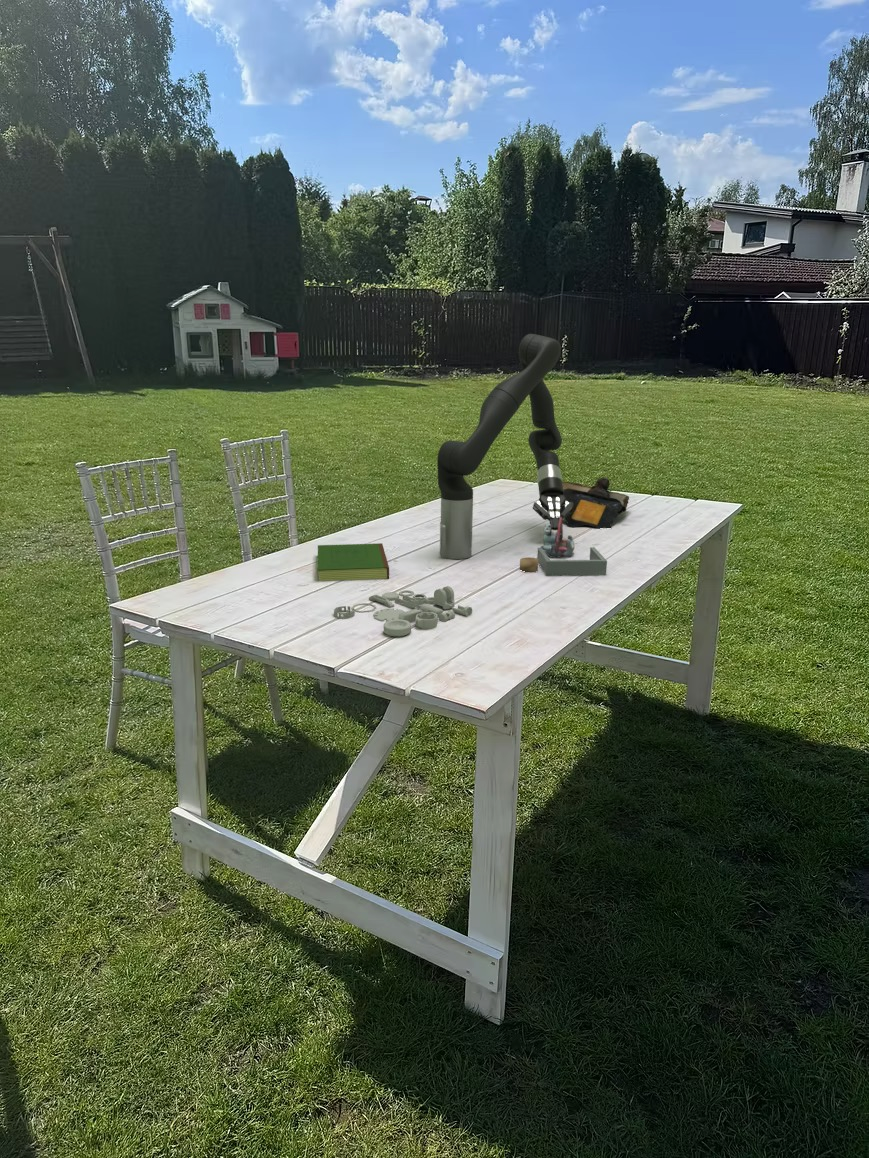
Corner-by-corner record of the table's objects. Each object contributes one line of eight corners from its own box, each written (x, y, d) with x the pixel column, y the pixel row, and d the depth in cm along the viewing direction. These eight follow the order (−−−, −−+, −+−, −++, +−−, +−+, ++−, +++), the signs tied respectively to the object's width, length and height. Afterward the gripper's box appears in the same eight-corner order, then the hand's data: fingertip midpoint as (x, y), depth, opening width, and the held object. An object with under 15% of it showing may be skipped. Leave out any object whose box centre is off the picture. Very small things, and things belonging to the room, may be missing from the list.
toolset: (634, 528, 257) (571, 478, 255) (594, 569, 267) (533, 521, 264) (634, 488, 292) (578, 444, 290) (599, 525, 302) (545, 482, 299)
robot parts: (324, 616, 184) (323, 594, 182) (403, 591, 200) (403, 571, 198) (395, 645, 167) (394, 622, 165) (475, 615, 183) (475, 594, 182)
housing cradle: (546, 575, 211) (546, 561, 210) (537, 561, 224) (537, 547, 223) (606, 575, 212) (607, 560, 211) (593, 560, 225) (594, 547, 224)
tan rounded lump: (521, 573, 214) (521, 562, 213) (518, 567, 219) (518, 557, 218) (539, 572, 214) (539, 562, 213) (536, 567, 219) (536, 557, 218)
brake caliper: (580, 552, 224) (556, 518, 223) (548, 572, 228) (525, 539, 227) (583, 543, 235) (561, 510, 234) (553, 562, 239) (531, 530, 238)
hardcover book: (389, 580, 208) (389, 567, 207) (318, 583, 206) (317, 569, 205) (382, 554, 232) (381, 542, 231) (318, 556, 229) (317, 544, 228)
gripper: (531, 475, 241) (536, 524, 234) (573, 475, 242) (580, 523, 234) (527, 489, 248) (532, 536, 240) (568, 489, 249) (574, 536, 241)
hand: (555, 530), depth 237 cm, fingers closed
